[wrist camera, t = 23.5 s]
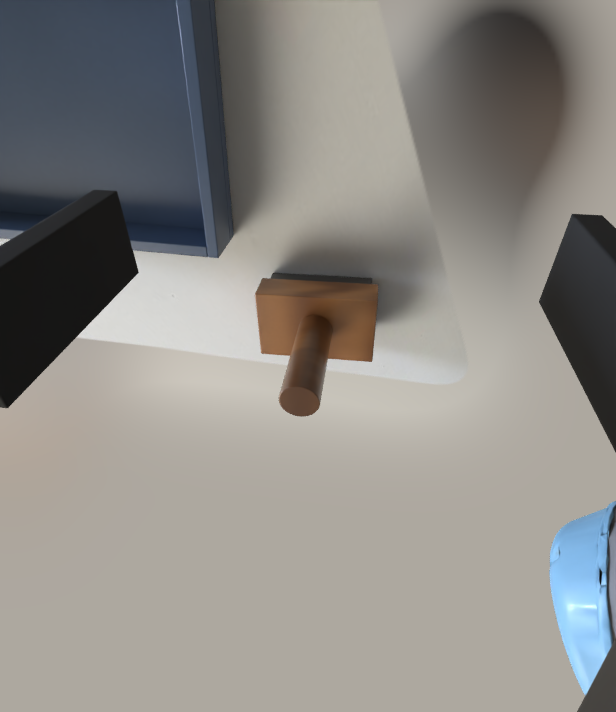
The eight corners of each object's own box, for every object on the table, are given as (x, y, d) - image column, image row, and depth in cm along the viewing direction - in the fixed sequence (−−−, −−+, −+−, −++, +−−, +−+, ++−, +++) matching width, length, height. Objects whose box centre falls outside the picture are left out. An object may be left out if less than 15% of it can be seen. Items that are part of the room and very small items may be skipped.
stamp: (378, 274, 34) (375, 373, 25) (373, 333, 38) (368, 439, 29) (266, 269, 36) (223, 361, 26) (271, 326, 39) (234, 426, 30)
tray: (212, -32, 24) (186, -38, 21) (234, 235, 34) (218, 258, 31) (-195, -43, 27) (-271, -50, 24) (-66, 210, 37) (-108, 228, 33)
